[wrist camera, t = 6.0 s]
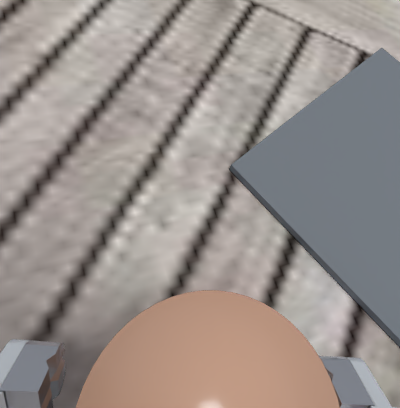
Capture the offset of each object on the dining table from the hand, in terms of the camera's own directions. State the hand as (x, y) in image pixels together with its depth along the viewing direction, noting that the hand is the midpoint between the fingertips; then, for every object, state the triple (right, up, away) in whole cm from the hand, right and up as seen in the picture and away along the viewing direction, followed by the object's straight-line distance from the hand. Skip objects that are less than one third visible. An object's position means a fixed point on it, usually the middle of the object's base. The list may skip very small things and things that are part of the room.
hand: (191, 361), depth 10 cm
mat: (+13, +6, +10) cm, 18 cm away
